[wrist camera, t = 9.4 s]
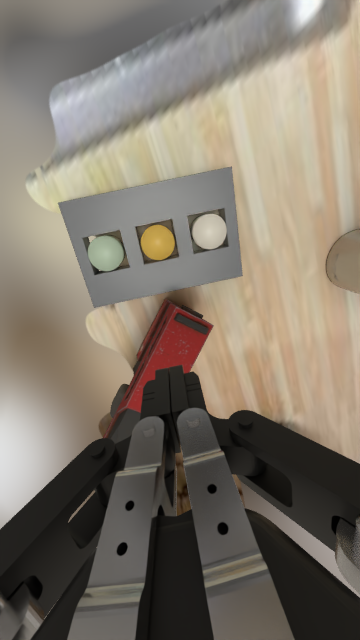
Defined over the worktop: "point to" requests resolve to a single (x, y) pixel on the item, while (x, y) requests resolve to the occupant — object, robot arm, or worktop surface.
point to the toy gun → (158, 361)
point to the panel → (151, 207)
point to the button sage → (106, 252)
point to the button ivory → (208, 231)
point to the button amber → (157, 242)
